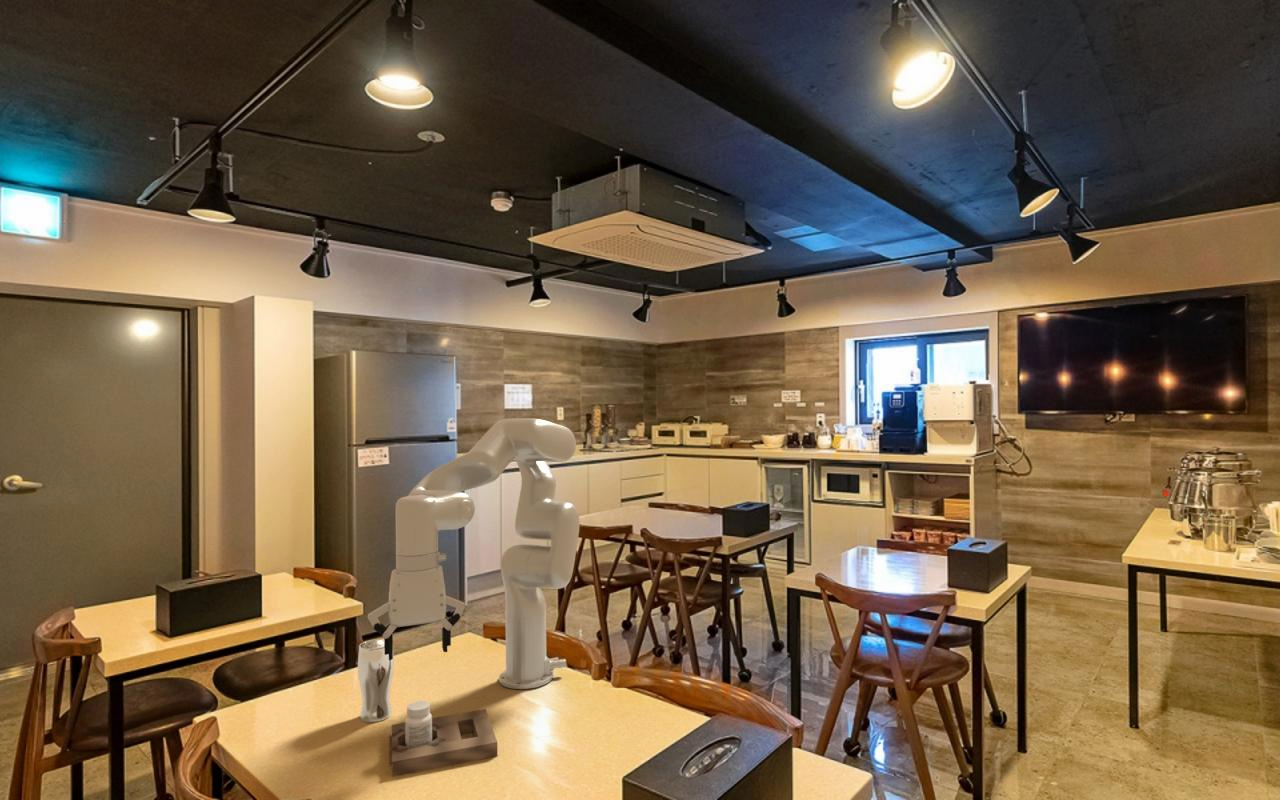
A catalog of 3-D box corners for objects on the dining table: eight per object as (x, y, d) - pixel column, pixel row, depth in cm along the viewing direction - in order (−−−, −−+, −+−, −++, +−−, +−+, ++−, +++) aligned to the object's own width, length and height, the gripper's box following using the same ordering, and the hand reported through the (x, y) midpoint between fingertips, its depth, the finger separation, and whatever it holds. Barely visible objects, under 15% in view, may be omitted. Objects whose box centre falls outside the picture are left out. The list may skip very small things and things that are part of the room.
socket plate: (485, 721, 133) (485, 708, 133) (497, 755, 119) (497, 741, 119) (389, 738, 126) (389, 725, 127) (389, 777, 112) (389, 762, 113)
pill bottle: (409, 745, 124) (409, 700, 124) (434, 744, 124) (434, 699, 124) (402, 758, 119) (402, 711, 119) (428, 756, 119) (428, 710, 120)
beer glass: (400, 711, 138) (400, 639, 139) (377, 725, 132) (377, 650, 132) (374, 707, 141) (374, 636, 141) (350, 721, 134) (350, 647, 135)
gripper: (462, 553, 129) (463, 641, 129) (368, 562, 123) (368, 654, 122) (466, 561, 122) (467, 653, 122) (366, 571, 116) (367, 668, 115)
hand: (418, 653), depth 122 cm, fingers open, 9 cm apart
